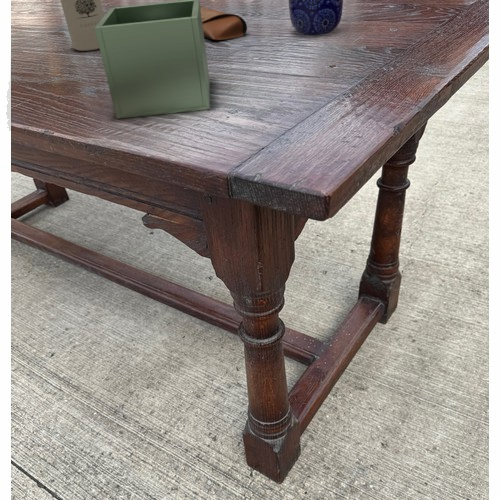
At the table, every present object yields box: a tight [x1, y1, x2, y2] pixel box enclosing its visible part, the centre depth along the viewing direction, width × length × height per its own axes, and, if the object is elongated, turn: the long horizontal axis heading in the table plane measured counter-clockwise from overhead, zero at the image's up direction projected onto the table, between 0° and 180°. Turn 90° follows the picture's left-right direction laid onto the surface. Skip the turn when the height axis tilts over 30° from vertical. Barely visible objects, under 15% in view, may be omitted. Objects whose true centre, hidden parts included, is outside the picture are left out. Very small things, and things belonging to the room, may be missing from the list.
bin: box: [95, 0, 211, 120], centre depth 76 cm, size 14×14×12 cm
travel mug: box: [59, 0, 105, 52], centre depth 106 cm, size 8×8×18 cm
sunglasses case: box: [200, 5, 248, 41], centre depth 112 cm, size 18×7×7 cm
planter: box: [288, 0, 344, 36], centre depth 102 cm, size 11×11×11 cm
